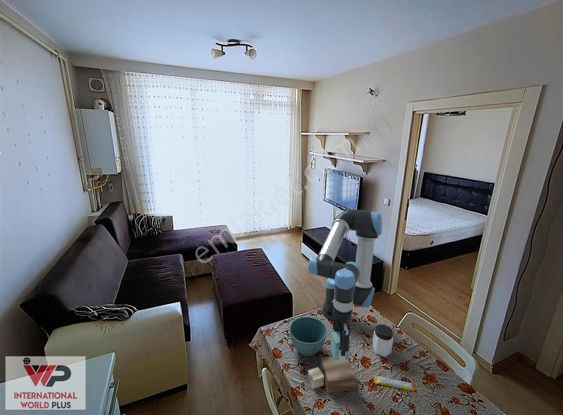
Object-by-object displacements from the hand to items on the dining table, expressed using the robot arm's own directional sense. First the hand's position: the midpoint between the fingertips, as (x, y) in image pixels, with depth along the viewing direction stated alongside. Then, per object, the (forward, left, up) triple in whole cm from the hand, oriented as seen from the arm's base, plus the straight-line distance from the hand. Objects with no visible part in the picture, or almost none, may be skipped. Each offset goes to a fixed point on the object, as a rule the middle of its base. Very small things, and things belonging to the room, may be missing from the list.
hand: (339, 353), depth 110 cm
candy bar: (+5, +24, -14) cm, 28 cm away
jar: (-13, +27, -14) cm, 33 cm away
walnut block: (0, 0, -13) cm, 13 cm away
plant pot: (-17, -10, -14) cm, 24 cm away
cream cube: (+1, -10, -14) cm, 17 cm away
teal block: (0, 0, 0) cm, 0 cm away
